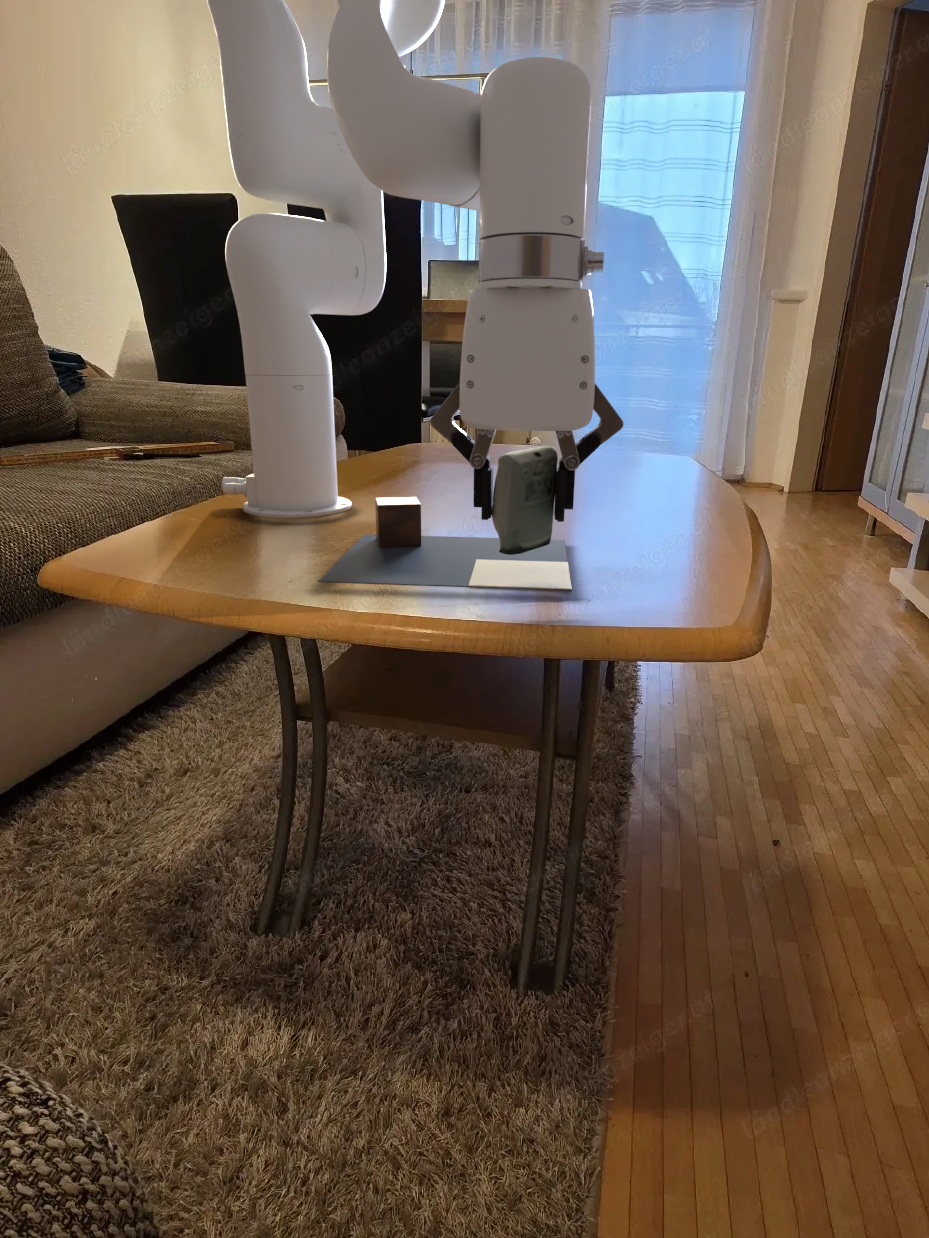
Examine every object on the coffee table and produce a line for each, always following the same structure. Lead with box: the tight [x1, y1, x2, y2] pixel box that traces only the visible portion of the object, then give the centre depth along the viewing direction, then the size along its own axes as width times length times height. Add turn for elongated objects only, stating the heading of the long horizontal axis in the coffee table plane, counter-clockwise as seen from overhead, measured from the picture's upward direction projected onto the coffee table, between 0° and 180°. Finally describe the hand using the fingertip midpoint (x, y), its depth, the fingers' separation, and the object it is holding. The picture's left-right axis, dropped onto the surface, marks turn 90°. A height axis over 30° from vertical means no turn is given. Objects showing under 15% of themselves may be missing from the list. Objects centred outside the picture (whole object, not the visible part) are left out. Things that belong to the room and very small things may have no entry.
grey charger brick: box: [491, 445, 559, 555], centre depth 60 cm, size 6×5×8 cm
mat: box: [317, 533, 573, 591], centre depth 67 cm, size 20×17×1 cm
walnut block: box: [374, 496, 422, 547], centre depth 72 cm, size 4×4×4 cm
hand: (522, 515), depth 61 cm, fingers closed on grey charger brick, 5 cm apart
